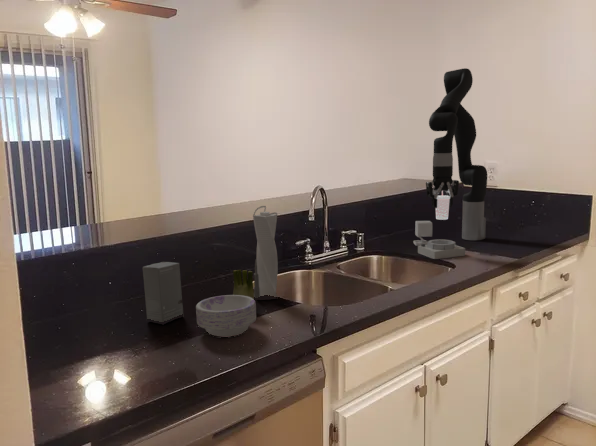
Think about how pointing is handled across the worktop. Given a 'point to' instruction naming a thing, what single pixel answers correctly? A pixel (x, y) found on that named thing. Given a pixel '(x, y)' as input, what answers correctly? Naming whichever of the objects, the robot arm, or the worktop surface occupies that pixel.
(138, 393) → the worktop surface
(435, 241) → the mount block
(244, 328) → the paper bowls
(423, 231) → the security camera
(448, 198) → the beverage cup
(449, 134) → the robot arm
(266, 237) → the skyscraper
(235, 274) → the fennel bulb
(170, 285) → the skincare box
